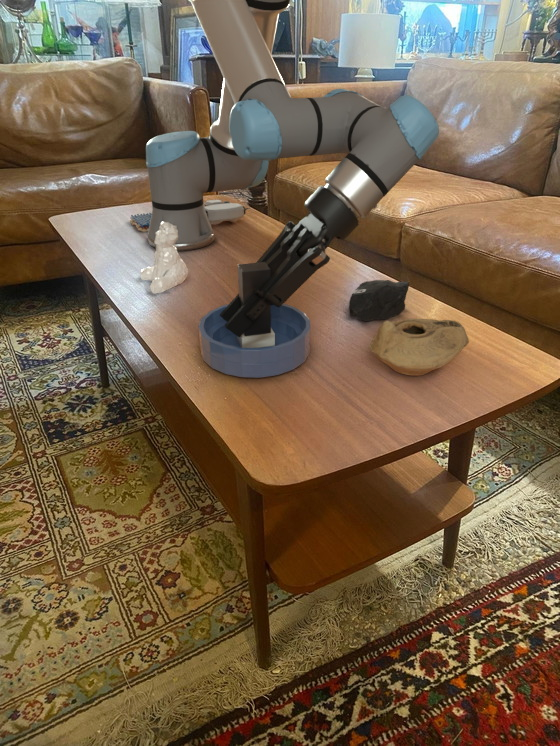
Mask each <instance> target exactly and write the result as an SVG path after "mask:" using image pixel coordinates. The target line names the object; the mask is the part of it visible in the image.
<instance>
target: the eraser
mask: <svg viewBox="0 0 560 746" xmlns="http://www.w3.org/2000/svg"><path fill="white" fill-rule="evenodd" d="M269 279H270V268H269V267H268V265H267V264H266V263H265V262H258V263H256V262H249V263H240V264H237V281H238V283H237V284H238V294H239V307H240V308H241V306H242V305H243V304H244V303H245V302H246V301H247V300H248V299H249V298H250V297H251V296H252V295H253V293H254V291H255V289H256V288H257V289H258V290H259V291H260V290H261V289H262V288H263V286H264V285H265V284H266V283H267V281H268V280H269ZM237 339H238V342H239V344H240V346H241V348H260V347H267V346H274V345H275V333H274V332H273V330H272V328H271V305H269V306H268V307H267V308H266V309H265V310H264V311H263V312H262V314H261V315H260V316H259V317H258V318H257V319H256V320H255V321H254V322H253V323H252V324H251V325H250V327H249V328H248V329H247V330H246V331H245V332H244V333H243V334H242V335H241V336H240V337H238V336H237Z"/></svg>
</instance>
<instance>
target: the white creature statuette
mask: <svg viewBox="0 0 560 746" xmlns="http://www.w3.org/2000/svg"><path fill="white" fill-rule="evenodd" d="M159 228H160V229H159V231H157V232H156V236H155V237H156V238H155V241H154V243H155V244H157V245H156V246H157V247H156V248H155V251H154V255H153V257H154V265H153V266H147V267H145V268H143V269H141V270H140V277H141V279H140V280H141V281H150V282H151V283H150V285H149V287H150V291H151V293H152V294H154V295H156V294H161V293H164V292H165V291H168V290H171V289H173V288H175V287H177V286H179V285H181V284H183V283H184V281H185V280H186V279H187V278H188V274H189V268H188V266H187V265H186V263H185V261H184V260H183V258H181V256H180V254H179V251H177V249H176V247H175V246H174V244H175V242H176V241H177V240H178V230H177V229H176V227H175V226H173V225H172V224H170V223H169V222H167V223H166V222H164V221H162V222H161V223H160V227H159Z"/></svg>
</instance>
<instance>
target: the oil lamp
mask: <svg viewBox="0 0 560 746" xmlns="http://www.w3.org/2000/svg"><path fill="white" fill-rule="evenodd" d="M469 343H470V340H469V337H468V334H467V332H466V329H465V327H464V326H463V325H462V323H461V322H459V321H457V320H452V319H442V320H439V319H432V318H429V319H427V318H408V319H407V318H405V319H399V320H395V321H391V320H385V321H383V323H381V325H380V326H379V328H378V330H377V333H376V334H375V335H374V336H373V338H372V340H371V343H370V344H368V349H369V350H370V351H371V352H372V353H373V354H374V355H375V356H376V357H377V359H379V360H380V361H381V362H382V363H383V364H385V365H387V366H388V367H390V368H391V369H392V370H393V371H395V372H396V373H399V374H401V375H406V376H424V375H426V374H428V373H431V372H432V371H434V370H438V369H440V368H442V367H444V366H446V365H447V364H449V363H450V362H451V361H453V360H454V359H455V358H456V357H457V356H458V355H459V354H460V353H461V352H462V351H463V350H464V349H465V347H467V345H468V344H469Z"/></svg>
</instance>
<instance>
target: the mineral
mask: <svg viewBox="0 0 560 746" xmlns="http://www.w3.org/2000/svg"><path fill="white" fill-rule="evenodd" d="M409 287H410V282H409V281H405V280H404V281H401V280H400V281H397V282H395V281H392V280H389V279H375V280H369V281H364V282H361V283H360V284H359V286H358V287H356V288H355V289H354V291H353V292H352V294H351V296H350V299H349V303H348V312H349V316H350V317H356V318H358V319H360V320H361V321H363V322H371V321H381V320H383V321H384V320H385V321H386V320H389V319H390V318H393V317H395V316H398V315H401V314H402V313H403V311H405V309H406V303H405V301H406V298H407V294H408V291H409Z"/></svg>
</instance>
